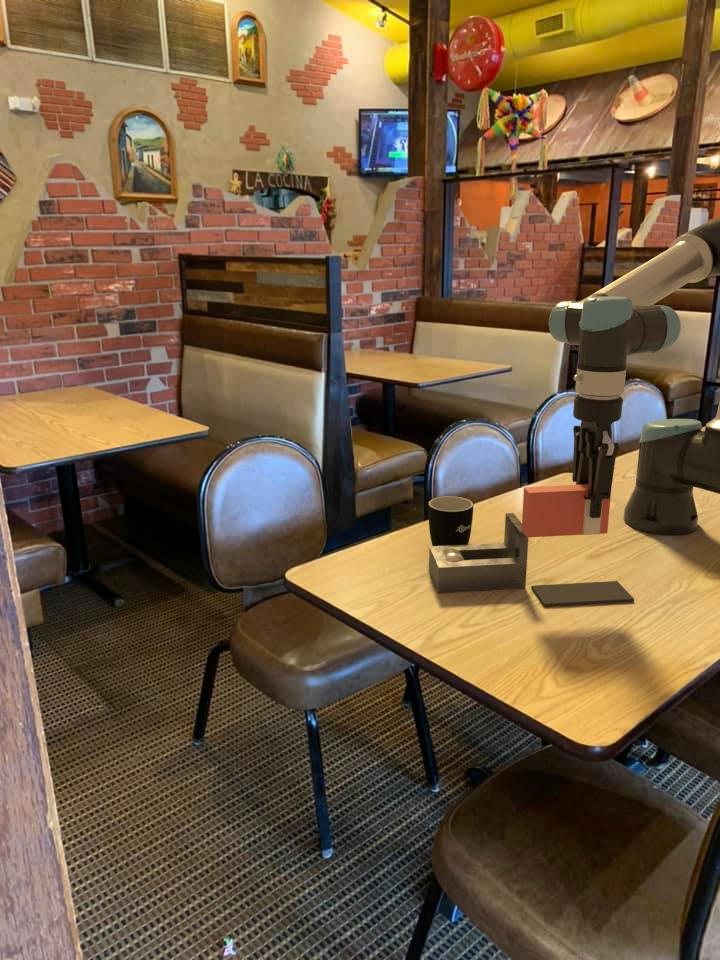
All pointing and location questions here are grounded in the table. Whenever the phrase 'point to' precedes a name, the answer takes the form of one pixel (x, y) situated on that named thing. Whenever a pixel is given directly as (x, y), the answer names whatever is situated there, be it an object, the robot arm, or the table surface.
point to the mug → (450, 520)
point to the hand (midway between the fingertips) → (586, 529)
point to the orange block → (557, 511)
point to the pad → (581, 593)
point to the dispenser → (482, 563)
